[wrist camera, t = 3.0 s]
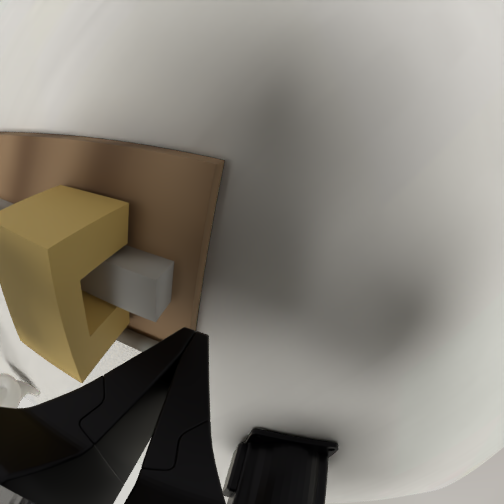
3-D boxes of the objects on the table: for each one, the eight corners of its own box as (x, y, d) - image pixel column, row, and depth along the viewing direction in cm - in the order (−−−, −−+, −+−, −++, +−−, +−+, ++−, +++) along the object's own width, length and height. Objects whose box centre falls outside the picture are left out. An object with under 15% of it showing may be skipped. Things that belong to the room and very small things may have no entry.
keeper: (129, 202, 10) (47, 249, 6) (129, 322, 12) (82, 383, 9) (60, 184, 10) (-14, 217, 6) (70, 294, 13) (20, 340, 9)
